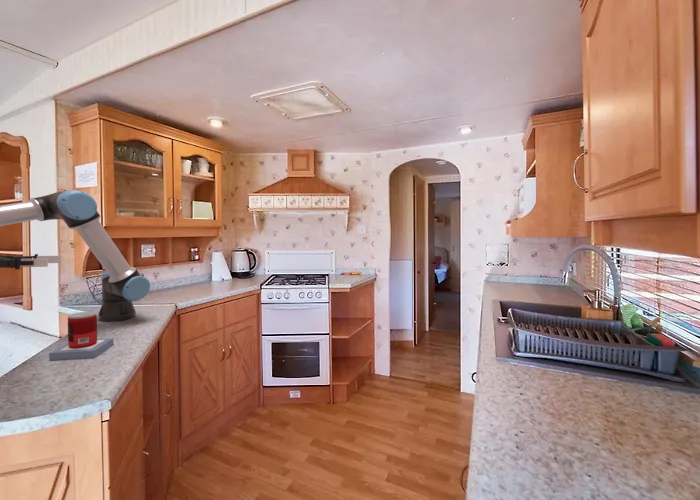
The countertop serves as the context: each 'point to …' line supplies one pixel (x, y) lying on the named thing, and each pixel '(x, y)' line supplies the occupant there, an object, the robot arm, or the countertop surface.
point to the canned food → (82, 329)
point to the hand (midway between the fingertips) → (54, 260)
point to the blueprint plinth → (81, 350)
